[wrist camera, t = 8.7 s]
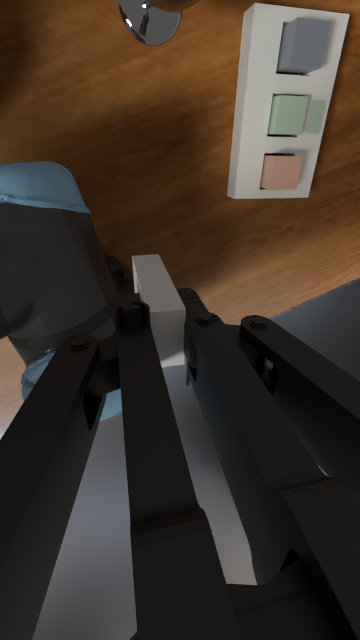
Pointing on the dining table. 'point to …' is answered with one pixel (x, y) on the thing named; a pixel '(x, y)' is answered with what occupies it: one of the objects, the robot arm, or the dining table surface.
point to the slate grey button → (302, 45)
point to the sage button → (287, 115)
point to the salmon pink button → (280, 172)
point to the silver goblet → (153, 18)
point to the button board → (264, 84)
